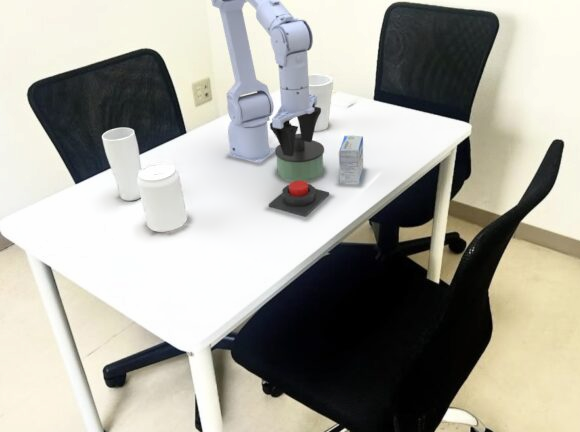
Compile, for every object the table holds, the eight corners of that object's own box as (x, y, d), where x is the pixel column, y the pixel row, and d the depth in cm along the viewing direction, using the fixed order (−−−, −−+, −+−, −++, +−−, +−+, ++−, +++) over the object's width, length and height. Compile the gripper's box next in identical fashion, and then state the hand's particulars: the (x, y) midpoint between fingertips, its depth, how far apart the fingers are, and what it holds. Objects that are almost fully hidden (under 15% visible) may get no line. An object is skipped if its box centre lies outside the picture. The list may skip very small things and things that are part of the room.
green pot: (269, 177, 129) (267, 156, 126) (293, 159, 136) (292, 138, 133) (308, 186, 124) (307, 165, 121) (330, 167, 131) (330, 146, 128)
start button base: (268, 209, 117) (267, 196, 115) (293, 187, 124) (293, 176, 122) (305, 219, 113) (305, 206, 111) (329, 197, 120) (329, 184, 118)
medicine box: (359, 186, 123) (359, 150, 118) (339, 185, 124) (338, 149, 119) (363, 169, 130) (363, 135, 125) (344, 168, 130) (343, 134, 126)
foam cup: (302, 119, 157) (300, 74, 150) (334, 119, 156) (334, 74, 149) (297, 133, 149) (294, 86, 142) (331, 133, 148) (330, 86, 141)
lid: (265, 158, 126) (264, 140, 124) (292, 140, 134) (290, 122, 132) (308, 168, 121) (307, 150, 118) (333, 148, 129) (332, 130, 126)
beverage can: (144, 218, 116) (132, 167, 109) (182, 209, 118) (173, 158, 112) (151, 238, 109) (139, 184, 103) (192, 227, 112) (182, 175, 105)
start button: (285, 194, 116) (285, 187, 115) (295, 186, 119) (295, 178, 118) (302, 198, 115) (301, 191, 114) (311, 190, 117) (311, 182, 116)
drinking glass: (138, 185, 128) (124, 124, 120) (154, 195, 124) (140, 132, 116) (111, 196, 124) (95, 134, 116) (127, 206, 120) (111, 143, 112)
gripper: (292, 100, 103) (296, 165, 111) (329, 76, 114) (330, 138, 121) (260, 94, 107) (266, 158, 114) (299, 72, 117) (303, 132, 124)
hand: (297, 147), depth 118 cm, fingers open, 7 cm apart
